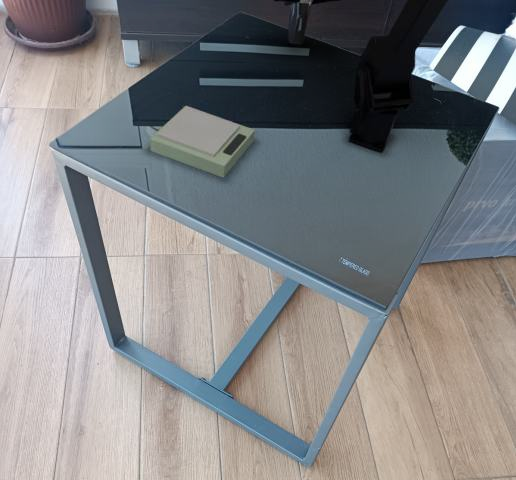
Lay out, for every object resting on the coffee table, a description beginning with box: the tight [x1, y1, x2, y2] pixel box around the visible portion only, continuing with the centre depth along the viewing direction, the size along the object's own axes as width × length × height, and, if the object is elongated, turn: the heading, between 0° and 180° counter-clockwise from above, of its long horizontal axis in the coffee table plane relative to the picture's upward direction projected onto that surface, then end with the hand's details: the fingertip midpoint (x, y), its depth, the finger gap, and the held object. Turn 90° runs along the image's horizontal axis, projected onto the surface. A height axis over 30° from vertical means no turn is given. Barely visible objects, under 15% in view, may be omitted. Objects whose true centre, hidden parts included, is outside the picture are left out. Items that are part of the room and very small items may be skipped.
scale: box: [149, 105, 256, 179], centre depth 81 cm, size 13×12×3 cm
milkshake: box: [287, 0, 313, 45], centre depth 100 cm, size 5×5×10 cm
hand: (296, 2), depth 100 cm, fingers closed on milkshake, 5 cm apart
